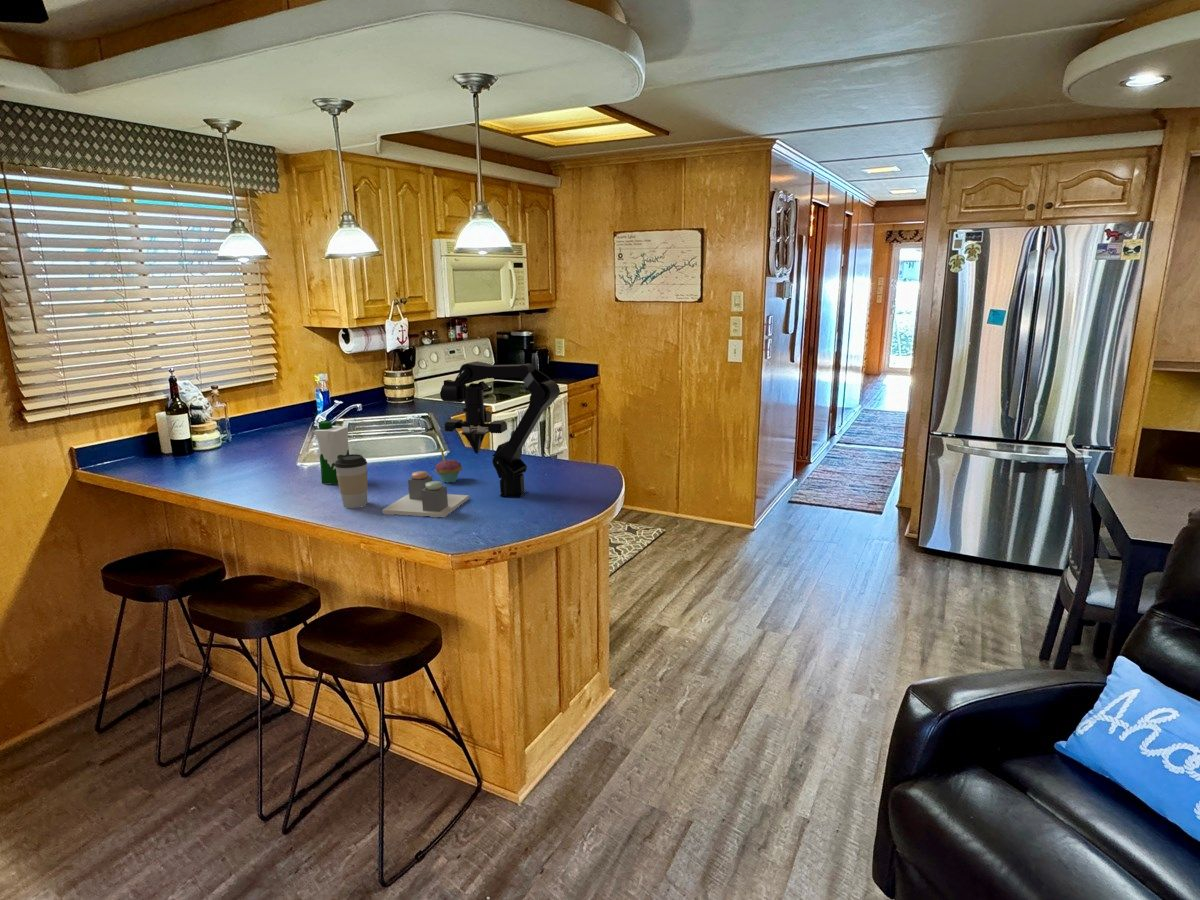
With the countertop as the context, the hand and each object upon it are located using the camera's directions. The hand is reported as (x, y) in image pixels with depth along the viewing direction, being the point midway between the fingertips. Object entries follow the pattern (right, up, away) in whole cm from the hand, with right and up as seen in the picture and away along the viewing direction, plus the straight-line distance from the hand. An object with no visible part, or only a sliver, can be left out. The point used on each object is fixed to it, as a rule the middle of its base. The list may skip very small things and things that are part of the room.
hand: (477, 453), depth 214 cm
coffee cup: (-35, -15, -9) cm, 39 cm away
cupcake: (-12, -9, +14) cm, 20 cm away
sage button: (-9, -15, -17) cm, 25 cm away
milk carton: (-49, -10, +16) cm, 52 cm away
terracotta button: (-15, -13, -7) cm, 21 cm away
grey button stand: (-13, -15, -12) cm, 23 cm away
